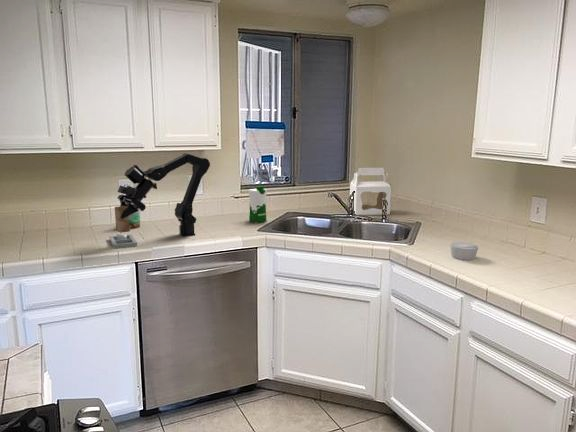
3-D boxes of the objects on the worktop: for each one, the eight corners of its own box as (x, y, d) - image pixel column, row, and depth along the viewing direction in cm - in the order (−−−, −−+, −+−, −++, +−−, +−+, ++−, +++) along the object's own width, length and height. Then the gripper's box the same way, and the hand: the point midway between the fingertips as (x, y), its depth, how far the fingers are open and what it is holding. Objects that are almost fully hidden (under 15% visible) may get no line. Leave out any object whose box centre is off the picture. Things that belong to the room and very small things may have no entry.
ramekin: (471, 262, 197) (472, 250, 196) (444, 257, 205) (445, 245, 204) (481, 257, 206) (482, 245, 205) (455, 252, 213) (456, 240, 212)
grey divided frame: (131, 237, 234) (131, 231, 234) (137, 246, 219) (136, 239, 218) (109, 239, 230) (109, 233, 230) (113, 248, 215) (113, 241, 214)
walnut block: (125, 229, 223) (124, 205, 221) (129, 231, 219) (128, 207, 217) (116, 231, 220) (114, 206, 218) (120, 232, 217) (118, 208, 214)
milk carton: (256, 223, 269) (256, 187, 265) (246, 220, 275) (246, 185, 272) (268, 221, 275) (268, 186, 271) (258, 218, 281) (258, 184, 277)
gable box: (382, 210, 311) (384, 166, 306) (390, 214, 298) (392, 168, 293) (348, 211, 307) (350, 166, 302) (355, 215, 295) (356, 168, 289)
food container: (135, 230, 250) (134, 210, 248) (124, 229, 251) (122, 210, 250) (146, 225, 262) (145, 206, 260) (136, 224, 263) (135, 206, 261)
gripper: (120, 176, 225) (97, 203, 220) (137, 180, 211) (113, 209, 206) (137, 192, 231) (116, 218, 226) (155, 197, 217) (132, 224, 212)
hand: (119, 217), depth 218 cm, fingers closed on walnut block, 4 cm apart
